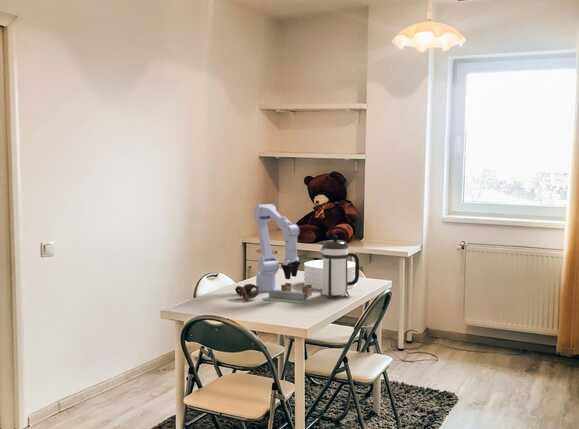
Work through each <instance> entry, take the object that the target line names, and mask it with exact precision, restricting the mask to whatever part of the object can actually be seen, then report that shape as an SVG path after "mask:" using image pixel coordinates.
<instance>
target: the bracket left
mask: <svg viewBox="0 0 579 429" xmlns="http://www.w3.org/2000/svg"><path fill="white" fill-rule="evenodd" d="M280 287H281V290H280V291H290V292H292V282H291V283H290V282H284V284H281V285H280Z"/></svg>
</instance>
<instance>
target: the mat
mask: <svg viewBox="0 0 579 429" xmlns="http://www.w3.org/2000/svg"><path fill="white" fill-rule="evenodd" d="M308 299H309V298H308V297H306V300H305V301H298V300H288V299H277V298H269V294H267V295H266V296H265V297H263V298H262V300H263V301H275V302H285V303H292V304H294V303H296V304H303V303H304V302H306V301H309V300H308Z"/></svg>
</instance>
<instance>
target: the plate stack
mask: <svg viewBox="0 0 579 429" xmlns="http://www.w3.org/2000/svg"><path fill="white" fill-rule="evenodd" d="M303 264H304V265H303V266H304V268H303V271H304V273H303V276H304V278H303V279H304V280H303V281H304V282H303V285H304V286H305V287H306V285H312V289H313V288H314V290H320V289H322V290H323V259H317V260H316V259H315V260H309V261H305V262H304V263H303ZM354 279H355V262H354V261H349V260H347V282H352V281H353V280H354ZM357 283H358V282H357ZM357 283H356V284H354V285H349V286H348V287H347V290H350V289H353V288H356V287H357V285H358V284H357ZM322 290H321V291H322Z"/></svg>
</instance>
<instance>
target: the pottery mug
mask: <svg viewBox="0 0 579 429" xmlns="http://www.w3.org/2000/svg"><path fill="white" fill-rule="evenodd" d="M253 289H255V290H254V291H253V292H252V290H253ZM234 290H235V293H236V295H238V296H239V298H241V297H242V298H243V300H244V301H245V302H247V301H249V300H251V299H255V298H257V296H258V295H260V291H258V287H257V286H256V284H254V283H246V284H244V285H243V286H241V285H237V286H236V287H235V289H234Z"/></svg>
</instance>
